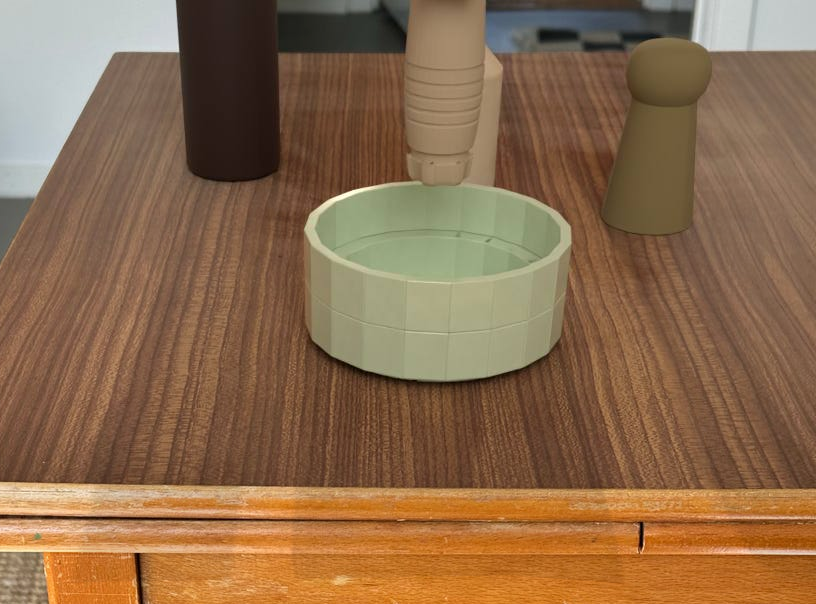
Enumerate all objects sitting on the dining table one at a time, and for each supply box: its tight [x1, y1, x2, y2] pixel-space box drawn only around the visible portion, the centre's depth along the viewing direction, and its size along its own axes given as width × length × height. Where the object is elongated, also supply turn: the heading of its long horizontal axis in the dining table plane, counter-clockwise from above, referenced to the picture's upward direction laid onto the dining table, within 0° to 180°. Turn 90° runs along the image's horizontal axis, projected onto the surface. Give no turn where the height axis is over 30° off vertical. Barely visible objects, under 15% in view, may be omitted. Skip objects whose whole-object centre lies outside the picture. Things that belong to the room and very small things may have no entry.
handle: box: [403, 0, 487, 187], centre depth 64 cm, size 5×6×15 cm
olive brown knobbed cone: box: [600, 37, 713, 236], centre depth 85 cm, size 6×6×11 cm
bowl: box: [303, 180, 573, 383], centre depth 73 cm, size 14×14×6 cm
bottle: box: [175, 0, 282, 182], centre depth 89 cm, size 7×7×20 cm
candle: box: [412, 43, 504, 187], centre depth 88 cm, size 6×6×10 cm
